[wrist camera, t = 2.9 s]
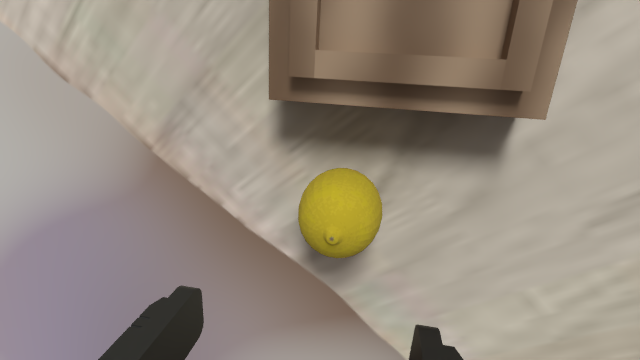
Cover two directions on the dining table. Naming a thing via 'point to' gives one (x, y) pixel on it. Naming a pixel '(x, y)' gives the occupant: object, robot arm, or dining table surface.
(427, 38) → the brown wooden crate
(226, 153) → the dining table surface
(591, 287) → the dining table surface
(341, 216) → the lemon
